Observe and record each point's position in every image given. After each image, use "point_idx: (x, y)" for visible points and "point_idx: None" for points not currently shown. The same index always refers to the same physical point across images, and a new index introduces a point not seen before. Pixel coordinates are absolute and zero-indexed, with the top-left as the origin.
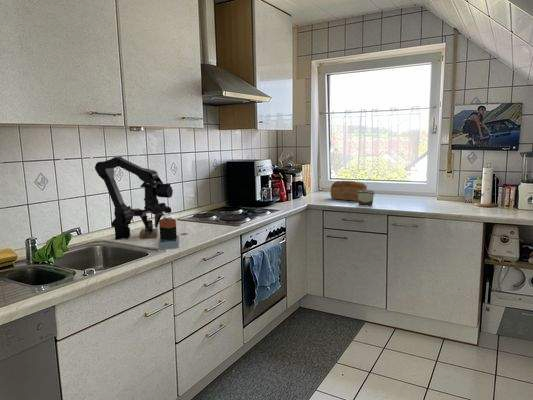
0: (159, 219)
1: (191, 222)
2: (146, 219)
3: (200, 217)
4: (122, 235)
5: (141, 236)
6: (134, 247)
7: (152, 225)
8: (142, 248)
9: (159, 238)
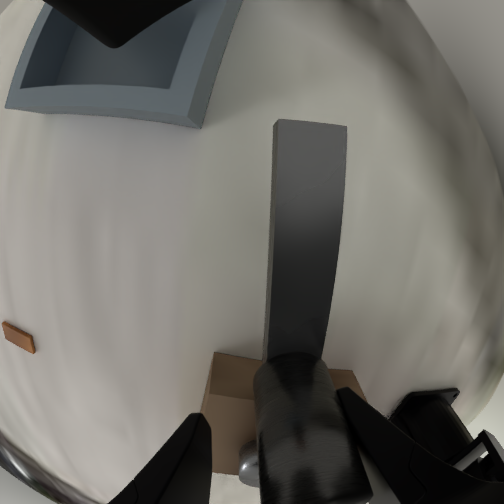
0: (116, 502)
1: (63, 478)
2: (422, 501)
3: (57, 491)
4: (437, 407)
5: (345, 382)
6: (446, 103)
7: (262, 429)
8: (393, 28)
9: (220, 13)
